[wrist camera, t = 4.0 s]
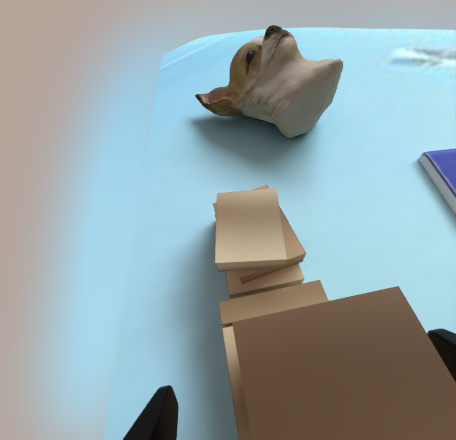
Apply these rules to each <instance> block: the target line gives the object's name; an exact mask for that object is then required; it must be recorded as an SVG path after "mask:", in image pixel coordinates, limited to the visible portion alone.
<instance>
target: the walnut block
mask: <svg viewBox="0 0 456 440" xmlns="http://www.w3.org/2000/svg"><path fill="white" fill-rule="evenodd" d="M232 326H233V331H234V337H235V343H236V349H237V355H238V361H239V366H240V372H241V378H242V384H243V390H244V396H245V401H246V407H247V413H248V419H249V425H250V431H251V436H252V440H456V382H455V380H454V379H453V377H452V375H451V374H450V372H449V370H448V369H447V367H446V365H445V364H444V362H443V360H442V359H441V357H440V355H439V353H438V352H437V350H436V348H435V347H434V345H433V343H432V342H431V340H430V338H429V337H428V335H427V333H426V332H425V330H424V328H423V327H422V325H421V323H420V321H419V320H418V318H417V316H416V315H415V313H414V311H413V310H412V308H411V306H410V305H409V303H408V301H407V300H406V298H405V296H404V295H403V293H402V291H401V290H400V288H399V286H397V287H392V288H388V289H383V290H379V291H374V292H369V293H365V294H360V295H355V296H351V297H346V298H341V299H337V300H332V301H328V302H323V303H318V304H314V305H309V306H304V307H300V308H295V309H291V310H286V311H281V312H277V313H272V314H267V315H263V316H258V317H253V318H249V319H244V320H240V321H235V322H232Z"/></svg>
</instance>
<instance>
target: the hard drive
mask: <svg viewBox="0 0 456 440" xmlns="http://www.w3.org/2000/svg"><path fill="white" fill-rule="evenodd" d="M418 160H419V161H420V163H421V164H422V166H423V167H424V169H425V170H426V172H427V173H428V175H429V176H430V178H431V179H432V181H433V182H434V184H435V185H436V187H437V188H438V189H439V191H440V192H441V194H442V195H443V197H444V198H445V200H446V201H447V203H448V204H449V206H450V207H451V209H452V210H453V212H454V213H455V215H456V149H448V150H438V151H430V152H424V153H423V154H422V155H421V156H420V157H419V158H418Z"/></svg>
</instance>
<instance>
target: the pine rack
mask: <svg viewBox="0 0 456 440" xmlns="http://www.w3.org/2000/svg"><path fill="white" fill-rule="evenodd" d="M323 302H328V299H327V296H326V294H325V291H324V289H323V286H322V284H321V282H320V280H317V281H313V282H308V283H303V284H299V285H294V286H290V287H285V288H281V289H276V290H271V291H267V292H262V293H258V294H253V295H249V296H244V297H239V298H235V299H230V300H226V301H221V302H219V309H220V315H221V322H222V325H224V326H225V327H226V328H222V329H223V336H224V342H225V349H226V356H227V363H228V369H229V376H230V383H231V390H232V396H233V403H234V410H235V417H236V423H237V430H238V437H239V440H252V436H251V431H250V425H249V419H248V413H247V407H246V401H245V396H244V390H243V384H242V378H241V372H240V366H239V361H238V355H237V349H236V343H235V337H234V331H233V326H232V322H235V321H240V320H244V319H249V318H253V317H258V316H263V315H267V314H272V313H277V312H281V311H286V310H291V309H295V308H300V307H304V306H309V305H314V304H318V303H323Z"/></svg>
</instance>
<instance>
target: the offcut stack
mask: <svg viewBox="0 0 456 440" xmlns="http://www.w3.org/2000/svg"><path fill="white" fill-rule="evenodd" d="M213 206H214V211H215V217H216V246H215V264H216V266H217V268H218V270H219V271H225V274H226V279H227V285H228V291H229V296H230V297H231V299H235V298H239V297H244V296H249V295H253V294H258V293H262V292H267V291H271V290H276V289H281V288H285V287H290V286H294V285H299V284H302V282H303V280H304V277H303V274H302V271H301V269H300V266H299V263H300V262H303V259H304V257H305V255H306V252H305V250H304V248H303V247H302V245H301V243H300V241H299V240H298V238H297V236H296V234H295V233H294V231H293V229H292V227H291V226H290V224H289V222H288V220H287V219H286V217H285V215H284V213H283V212H282V210H281V208H280V206H279V204H278V197H277V190H276V188H272V189H269V187H268V185H265V186H262V187H259V188H256V189H253V190H250V191H239V192H228V193H217V202H216V203H213Z"/></svg>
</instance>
